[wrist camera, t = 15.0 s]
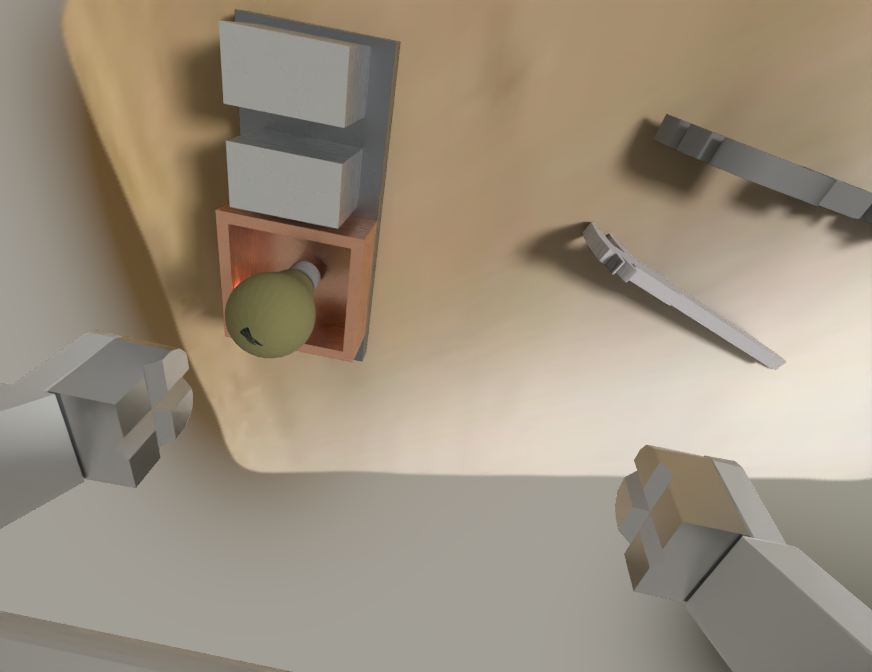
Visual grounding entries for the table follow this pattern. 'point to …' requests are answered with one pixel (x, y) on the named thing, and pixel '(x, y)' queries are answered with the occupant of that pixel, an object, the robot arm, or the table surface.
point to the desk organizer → (307, 165)
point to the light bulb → (273, 310)
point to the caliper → (672, 294)
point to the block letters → (765, 169)
